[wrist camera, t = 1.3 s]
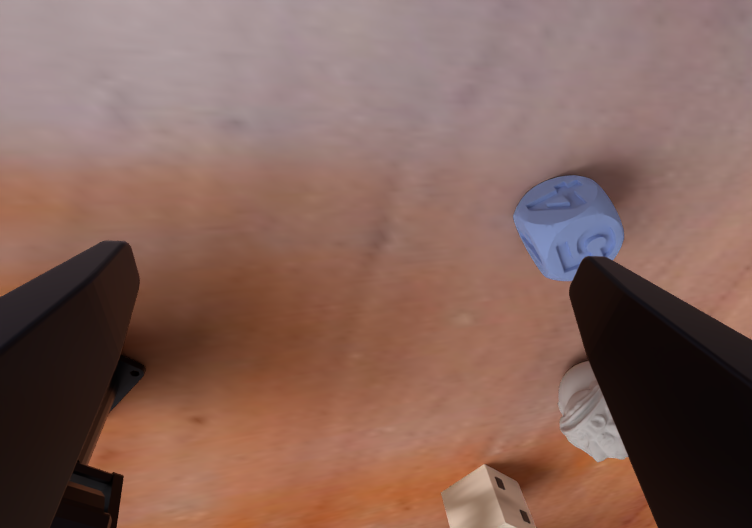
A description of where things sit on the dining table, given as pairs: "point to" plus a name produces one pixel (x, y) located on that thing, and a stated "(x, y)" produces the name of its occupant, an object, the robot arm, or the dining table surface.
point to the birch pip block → (486, 501)
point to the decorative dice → (567, 225)
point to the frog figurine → (588, 415)
